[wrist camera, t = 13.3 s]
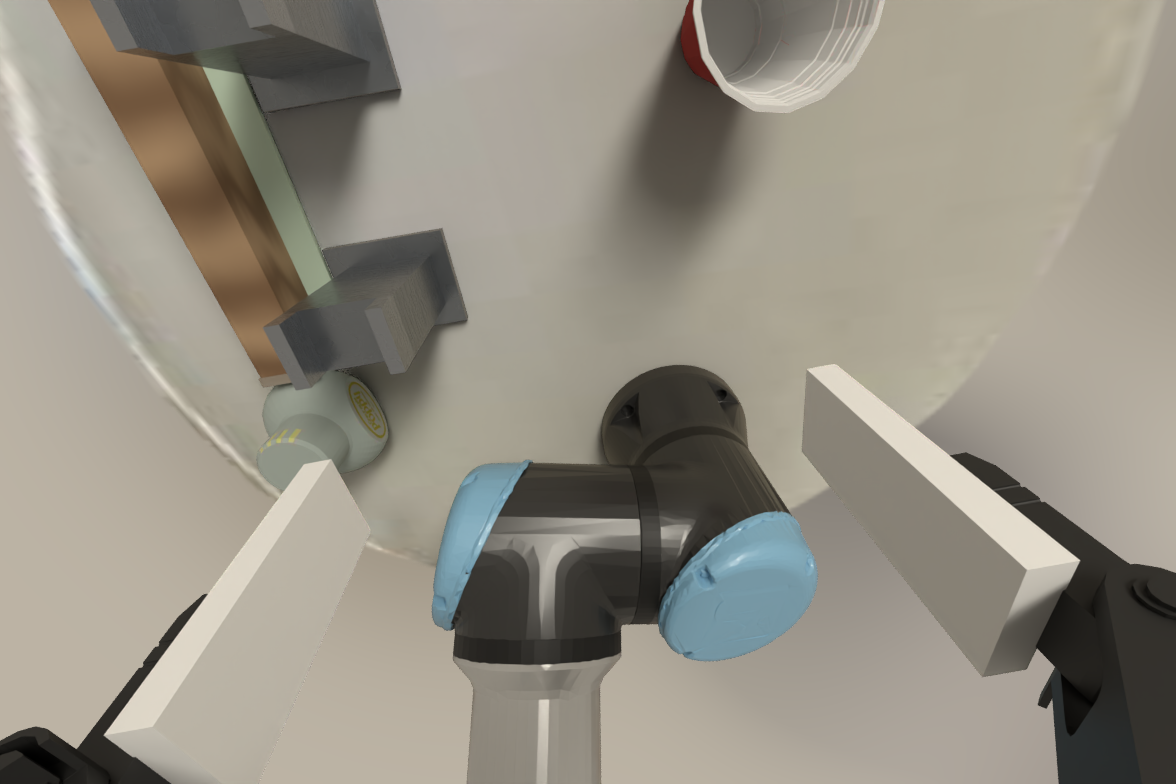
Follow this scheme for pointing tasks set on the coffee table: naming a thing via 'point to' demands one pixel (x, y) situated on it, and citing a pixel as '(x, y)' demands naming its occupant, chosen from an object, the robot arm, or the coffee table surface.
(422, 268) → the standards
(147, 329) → the coffee table surface
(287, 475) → the air freshener
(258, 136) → the mat
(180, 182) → the rail
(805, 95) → the plastic cup
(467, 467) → the coffee table surface
